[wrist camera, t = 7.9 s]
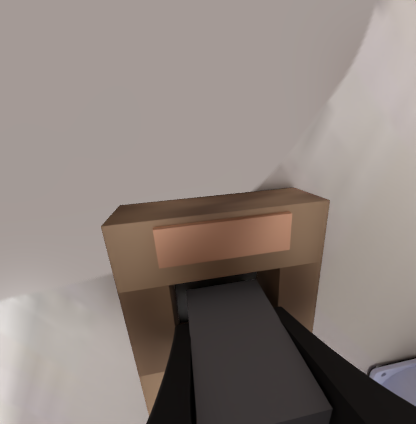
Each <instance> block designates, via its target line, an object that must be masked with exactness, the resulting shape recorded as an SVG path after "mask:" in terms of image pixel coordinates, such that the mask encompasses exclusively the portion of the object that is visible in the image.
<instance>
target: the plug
mask: <svg viewBox="0 0 416 424" xmlns="http://www.w3.org/2000/svg"><path fill="white" fill-rule="evenodd" d="M186 294H187V306H188V318H189V330H190V337H191V354H192V365H193V377H194V389H195V401H196V413H197V424H329V421H330V417H331V413H332V409H333V408H332V407H331V405H330V403H329V402H328V400H327V398H326V397H325V395H324V393H323V392H322V390H321V388H320V386H319V385H318V383H317V381H316V380H315V378H314V376H313V375H312V373H311V371H310V370H309V368H308V366H307V364H306V363H305V361H304V359H303V358H302V356H301V354H300V353H299V351H298V349H297V347H296V346H295V344H294V342H293V341H292V339H291V337H290V336H289V334H288V332H287V331H286V329H285V327H284V326H283V324H282V323H281V321H280V319H279V317H278V315H277V314H276V312H275V310H274V308H273V307H272V305H271V303H270V302H269V300H268V298H267V297H266V295H265V293H264V292H263V290H262V288H261V286H260V285H259V283H258V281H257V280H256V279H254V280H248V281H241V282H235V283H229V284H223V285H216V286H210V287H204V288H198V289H191V290H186Z"/></svg>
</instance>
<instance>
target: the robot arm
mask: <svg viewBox="0 0 416 424" xmlns="http://www.w3.org/2000/svg"><path fill="white" fill-rule="evenodd" d="M274 310H275V312H276V314H277V315H278V317H279V319H280V321H281V323H282V324H283V326H284V327H285V329H286V331H287V332H288V334H289V336H290V337H291V339H292V341H293V342H294V344H295V346H296V347H297V349H298V351H299V353H300V354H301V356H302V358H303V359H304V361H305V363H306V364H307V366H308V368H309V370H310V371H311V373H312V375H313V376H314V378H315V380H316V381H317V383H318V385H319V386H320V388H321V390H322V392H323V393H324V395H325V397H326V398H327V400H328V402H329V403H330V405H331V407H332V408H333V409H332V413H331V417H330V421H329V424H416V359H412V360H407V361H403V362H399V363H395V364H390V365H386V366H382V367H378V368H374V369H373V370H372V371H371V373H370V377H369V376H367V375H366V374H365V373H363V372H362V371H360V370H359V369H357V368H356V367H355V366H353V365H352V364H351V363H349V362H348V361H346V360H345V359H344V358H343V357H341V356H340V355H339V354H337V353H336V352H335V351H333V350H332V349H331V348H330V347H328V346H327V345H326V344H325V343H323V342H322V341H321V340H320V339H319V338H317V337H316V336H315V335H314V334H313V333H311V332H310V331H309V330H308V329H307V328H306V327H304V326H303V325H302V324H301V323H300V322H299V321H298V320H296V319H295V318H294V317H293V316H292V315H291V314H290V313H289V312H287V311H286V310H285V309H284V308H283V307H282V306H280V307H275V308H274ZM146 424H197V413H196V401H195V389H194V377H193V365H192V354H191V337H190V330H189V323H187V324H181V325H177V326H176V327H175V331H174V337H173V342H172V347H171V351H170V355H169V359H168V362H167V366H166V369H165V373H164V376H163V379H162V382H161V385H160V388H159V391H158V394H157V397H156V399H155V402H154V405H153V408H152V410H151V413H150V416H149V418H148V421H147V423H146Z"/></svg>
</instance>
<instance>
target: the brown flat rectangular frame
mask: <svg viewBox="0 0 416 424" xmlns="http://www.w3.org/2000/svg"><path fill="white" fill-rule="evenodd" d="M329 203H330V200H327V199H325V198H322V197H319V196H316V195H313V194H311V193H308V192H305V191H302V190H299V189H297V188H284V189H274V190H265V191H255V192H245V193H236V194H226V195H216V196H207V197H197V198H188V199H177V200H167V201H159V202H148V203H139V204H129V205H120V206H119V207H118V208H117V209H116V210H115V211H114V212H113V214H112V215H111V216H110V217H109V218H108V219H107V220H106V221H105V223H104V224H103V225H102V226H101V229H102V233H103V236H104V241H105V244H106V248H107V252H108V256H109V260H110V264H111V268H112V272H113V276H114V280H115V284H116V288H117V292H118V295H119V299H120V303H121V307H122V311H123V315H124V319H125V323H126V327H127V331H128V335H129V339H130V343H131V346H132V350H133V354H134V358H135V362H136V366H137V370H138V374H139V378H140V382H141V386H142V390H143V393H144V397H145V401H146V405H147V409H148V413H149V416H150V413H151V410H152V408H153V405H154V402H155V399H156V397H157V394H158V391H159V388H160V385H161V382H162V379H163V376H164V373H165V369H166V366H167V362H168V359H169V355H170V351H171V347H172V342H173V337H174V331H175V327H176V326H177V325H181V324H187V323H189V322H184V323H180V320H179V313H178V306H177V299H176V292H175V285H174V284H180V283H187V282H193V281H200V280H206V279H212V278H219V277H225V276H232V275H238V274H245V273H251V272H257V281H258V283H259V285H260V286H261V288H262V290H263V292H264V293H265V295H266V297H267V298H268V300H269V302H270V303H271V305H272V307H273V308H275V307H280V306H282V307H283V308H284V309H285V310H286V311H287V312H289V313H290V314H291V315H292V316H293V317H294V318H295V319H296V320H298V321H299V322H300V323H301V324H302V325H303V326H304V327H306V328H307V329H308V330H309V331H310V332H311V333H312V330H313V323H314V315H315V308H316V300H317V293H318V285H319V278H320V270H321V263H322V255H323V248H324V240H325V233H326V225H327V218H328V210H329Z"/></svg>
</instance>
